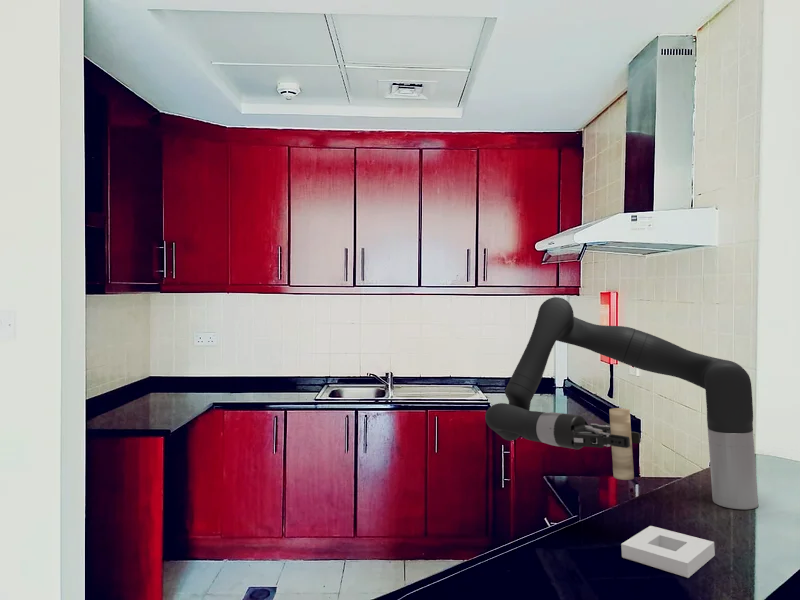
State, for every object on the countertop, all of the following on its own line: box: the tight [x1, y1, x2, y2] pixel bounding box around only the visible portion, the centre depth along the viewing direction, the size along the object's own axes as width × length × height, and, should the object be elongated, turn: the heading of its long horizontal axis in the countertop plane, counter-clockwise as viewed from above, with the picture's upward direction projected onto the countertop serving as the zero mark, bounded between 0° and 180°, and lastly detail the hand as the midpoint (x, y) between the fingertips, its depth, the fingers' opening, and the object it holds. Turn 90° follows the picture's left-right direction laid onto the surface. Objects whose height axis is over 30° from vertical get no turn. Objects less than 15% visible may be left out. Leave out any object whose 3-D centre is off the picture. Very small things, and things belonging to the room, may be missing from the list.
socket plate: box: [620, 525, 716, 579], centre depth 104 cm, size 12×12×2 cm
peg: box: [608, 407, 635, 481], centre depth 115 cm, size 4×4×14 cm
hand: (634, 440), depth 113 cm, fingers closed on peg, 4 cm apart
